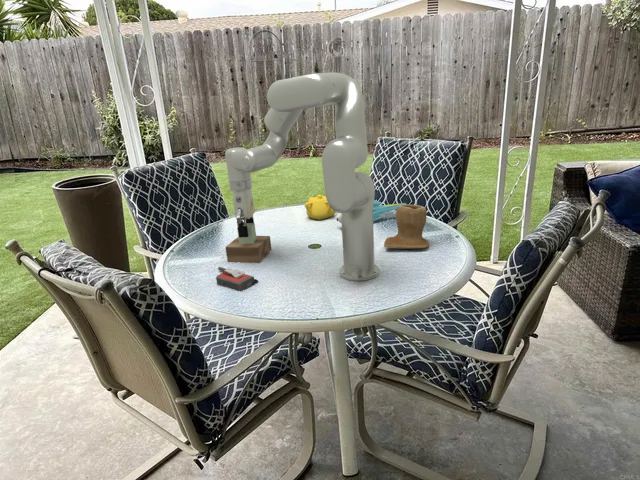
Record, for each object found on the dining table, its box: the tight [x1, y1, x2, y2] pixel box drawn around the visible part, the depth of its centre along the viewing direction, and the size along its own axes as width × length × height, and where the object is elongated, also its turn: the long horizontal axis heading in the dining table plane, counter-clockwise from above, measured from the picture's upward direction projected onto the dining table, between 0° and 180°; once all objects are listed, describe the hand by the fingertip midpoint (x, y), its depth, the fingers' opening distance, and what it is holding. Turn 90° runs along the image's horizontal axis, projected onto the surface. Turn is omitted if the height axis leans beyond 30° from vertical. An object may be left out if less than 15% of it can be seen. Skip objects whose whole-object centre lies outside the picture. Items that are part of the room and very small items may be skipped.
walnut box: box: [225, 235, 272, 264], centre depth 158 cm, size 12×12×6 cm
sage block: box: [236, 222, 257, 244], centre depth 156 cm, size 5×5×6 cm
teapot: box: [304, 194, 336, 221], centre depth 197 cm, size 14×13×10 cm
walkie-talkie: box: [215, 266, 259, 292], centre depth 139 cm, size 9×4×20 cm
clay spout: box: [383, 204, 430, 250], centre depth 155 cm, size 15×12×15 cm
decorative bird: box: [335, 200, 408, 224], centre depth 185 cm, size 14×30×9 cm, turn 120°
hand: (247, 232), depth 156 cm, fingers open, 9 cm apart
